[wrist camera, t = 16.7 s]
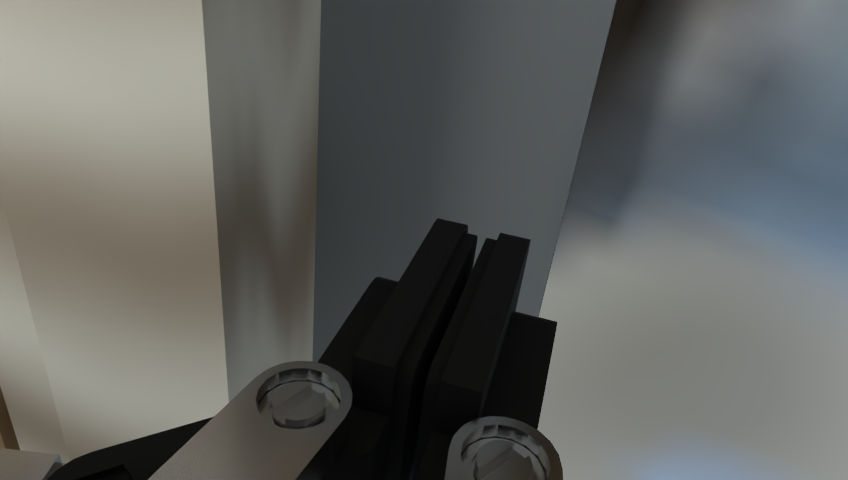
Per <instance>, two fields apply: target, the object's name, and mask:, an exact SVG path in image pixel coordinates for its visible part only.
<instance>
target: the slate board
mask: <svg viewBox="0 0 848 480" xmlns="http://www.w3.org/2000/svg"><path fill="white" fill-rule="evenodd" d="M615 4H616V0H321V24H320V66H319V108H318V150H317V192H316V234H315V277H314V319H313V361H312V362H318V360H319V359H320V357H321V356H322V355H323V353H324V352H325V350H326V349H327V347H328V346H329V344H330V343H331V341H332V340H333V338H334V337H335V335H336V334H337V332H338V331H339V329H340V328H341V326H342V325H343V323H344V322H345V320H346V319H347V317H348V316H349V314H350V313H351V311H352V310H353V309H354V307H355V306H356V304H357V303H358V301H359V300H360V298H361V297H362V295H363V294H364V292H365V291H366V289H367V288H368V286H369V285H370V283H371V282H372V281H373V280H374V278H376V277H382V278H386V279H390V280H394V281H398V282H399V280H400V278H401V277H402V275H403V273H404V272H405V270H406V269H407V267H408V265H409V264H410V262H411V260H412V259H413V257H414V255H415V254H416V252H417V250H418V249H419V247H420V245H421V244H422V242H423V240H424V239H425V237H426V236H427V234H428V232H429V231H430V229H431V227H432V226H433V224H434V222H435V221H436V219H437V218H440V219H444V220H448V221H453V222H457V223H461V224H466V225H468V233H469V234H473V235H477V237H478V239H477V246H476V252H475V258H474V264H473V267H474V265H475V262H476V260H477V258H478V255H479V253H480V251H481V249H482V246H483V244H484V242H485V239H486V238H490V239H494V240H497V239H498V236H499V234H500V233H505V234H509V235H513V236H517V237H522V238H526V239H530V240H531V242H530V247H529V252H528V256H527V261H526V265H525V270H524V275H523V279H522V284H521V288H520V293H519V298H518V302H517V307H516V312H520V313H523V314H527V315H531V316H535V317H538V316H539V312H540V308H541V304H542V300H543V296H544V292H545V288H546V284H547V280H548V276H549V271H550V267H551V263H552V259H553V255H554V251H555V247H556V243H557V239H558V235H559V231H560V227H561V223H562V219H563V215H564V211H565V207H566V203H567V199H568V195H569V191H570V186H571V182H572V178H573V174H574V170H575V166H576V162H577V158H578V154H579V150H580V146H581V142H582V138H583V134H584V130H585V126H586V122H587V118H588V114H589V110H590V106H591V101H592V97H593V93H594V89H595V85H596V81H597V77H598V73H599V69H600V65H601V61H602V57H603V53H604V49H605V45H606V41H607V37H608V33H609V29H610V25H611V20H612V16H613V12H614V8H615Z"/></svg>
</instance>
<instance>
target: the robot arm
mask: <svg viewBox="0 0 848 480" xmlns="http://www.w3.org/2000/svg"><path fill="white" fill-rule="evenodd" d="M477 239H478V237H477V235H473V234H469V233H468V225H466V224H461V223H457V222H453V221H448V220H444V219H440V218H437V219H436V221H435V222H434V224H433V226H432V227H431V229H430V231H429V232H428V234H427V236H426V237H425V239H424V240H423V242H422V244H421V245H420V247H419V249H418V250H417V252H416V254H415V255H414V257H413V259H412V260H411V262H410V264H409V265H408V267H407V269H406V270H405V272H404V273H403V275H402V277H401V278H400V280H399V282H398V281H394V280H390V279H386V278H382V277H376V278H374V280H373V281H372V282H371V283H370V285H369V286H368V288H367V289H366V291H365V292H364V294H363V295H362V297H361V298H360V300H359V301H358V303H357V304H356V306H355V307H354V309H353V310H352V311H351V313H350V314H349V316H348V317H347V319H346V320H345V322H344V323H343V325H342V326H341V328H340V329H339V331H338V332H337V334H336V335H335V337H334V338H333V340H332V341H331V343H330V344H329V346H328V347H327V349H326V350H325V352H324V353H323V355H322V356H321V357H320V359H319V360H318V362H312V361H293V362H287V363H281V364H279V365H276V366H274V367H271V368H268V369H267V370H265V371H264V372H262V373H261V374H260V375H258V376H257V377H255V378H254V379H253V380H252V381H251V382H250V383H249V384H248V385H247V386H246V387H245V388H244V389H243V390H242V391H241V392H240V393H238V394H237V395H236V396H235V397H234V398H233V399H232V400H231V401H230V402H229V403H228V404H227V405H226V406H225V407H224V408H223V409H222V410H221V411H219V412H218V413H217V414H216V415H215V416H214V417H211V418H207V419H204V420H200V421H197V422H194V423H190V424H187V425H183V426H180V427H176V428H173V429H169V430H166V431H162V432H159V433H155V434H152V435H148V436H145V437H141V438H138V439H134V440H131V441H127V442H124V443H120V444H117V445H114V446H110V447H107V448H103V449H100V450H96V451H93V452H90V453H87V454H85V455H82V456H80V457H77V458H75V459H73V460H71V461H70V462H68V463H62V462H61V458H60V455H59V454H51V453H42V452H32V451H22V450H13V449H3V448H0V480H563V473H562V466H561V462H560V458H559V455H558V453H557V451H556V450H555V448H554V447H553V445H552V443H551V442H550V441H549V440H548V439H547V438H546V437H545V436H544V435H543V434H541V432H539V431H538V430H537V428H538V423H539V417H540V412H541V407H542V402H543V396H544V391H545V386H546V379H547V375H548V369H549V364H550V359H551V354H552V348H553V343H554V337H555V332H556V326H557V322H555V321H551V320H547V319H543V318H539V317H535V316H531V315H527V314H523V313H520V312H516V307H517V302H518V298H519V293H520V288H521V284H522V279H523V275H524V270H525V265H526V261H527V256H528V252H529V247H530V242H531V240H530V239H526V238H522V237H517V236H513V235H509V234H505V233H500V234H499V236H498V239H497V240H494V239H490V238H486V239H485V242H484V244H483V246H482V249H481V251H480V253H479V255H478V258H477V260H476V262H475V265H474V267H473V264H474V258H475V252H476V246H477Z"/></svg>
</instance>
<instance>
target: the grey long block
mask: <svg viewBox="0 0 848 480" xmlns="http://www.w3.org/2000/svg"><path fill="white" fill-rule="evenodd" d="M320 24H321V0H0V387H1V390H2V393H3V396H4V400H5V403H6V406H7V409H8V412H9V415H10V419H11V422H12V425H13V428H14V431H15V435H16V438H17V441H18V444H19V447H20V450H22V451H32V452H42V453H51V454H59V455H60V458H61V462H62V463H68V462H70V461H71V460H73V459H75V458H77V457H80V456H82V455H85V454H87V453H90V452H93V451H96V450H100V449H103V448H107V447H110V446H114V445H117V444H120V443H124V442H127V441H131V440H134V439H138V438H141V437H145V436H148V435H152V434H155V433H159V432H162V431H166V430H169V429H173V428H176V427H180V426H183V425H187V424H190V423H194V422H197V421H200V420H204V419H207V418H211V417H214V416H215V415H216V414H217V413H218V412H219V411H221V410H222V409H223V408H224V407H225V406H226V405H227V404H228V403H229V402H230V401H231V400H232V399H233V398H234V397H235V396H236V395H237V394H238V393H240V392H241V391H242V390H243V389H244V388H245V387H246V386H247V385H248V384H249V383H250V382H251V381H252V380H253V379H254V378H255V377H257V376H258V375H260V374H261V373H262V372H264V371H265V370H267V369H268V368H271V367H274V366H276V365H279V364H281V363H287V362H293V361H313V319H314V277H315V234H316V192H317V150H318V108H319V66H320Z"/></svg>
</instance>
